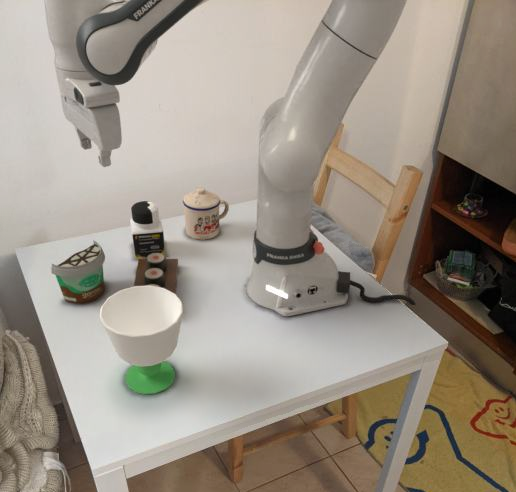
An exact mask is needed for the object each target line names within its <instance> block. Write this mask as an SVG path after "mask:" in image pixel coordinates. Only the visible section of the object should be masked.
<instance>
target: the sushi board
mask: <svg viewBox="0 0 516 492" xmlns="http://www.w3.org/2000/svg"><path fill="white" fill-rule="evenodd" d="M178 273H179V259H178V258H167V256H166V254H165V255H164V254H161V253H152V254H149V255H148V256H147V257H146V258H142V259H137V266H136V271H135V277H134V282H133V287H134V286H155V287H160V288H165V289H167V290H168V291H170V292H172V293H174V294H176V295H177V283H178V282H177V281H178Z"/></svg>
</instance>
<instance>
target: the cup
mask: <svg viewBox="0 0 516 492" xmlns="http://www.w3.org/2000/svg"><path fill="white" fill-rule="evenodd" d="M183 306H184V305H183V302H182V300H181V299H180V298H179V297H178V295H177V293H176V294H174V293H172V292H170V291H168V290H167V289H165V288H160V287H155V286H134V285H133V286H131V287H127V288H124V289H121V290H118V291H117V292H115V293H114V294H111V295H110V296H108V297H107V298H106V300H105V301H104V302H103V304H102V305H101V307H100V309H99V310H100V311H99V319H100V321H101V323H102V325H103V328H104V330H105V332H106V334H107V336H108V339H109V341H110V343H111V345H112V347H113V348H114V351H115V352H116V354H117V355H118V357H119V358H120V359H121V360H123V361H124V362H126V363H127V364H129V365H131V366H130V367H129V368H128V370H127V372H126V374H125V383H126V385H127V386H128V388H129V389H130V390H131V391H133V392H135V393H137V394H141V395H155V394H158V393H160V392H163V391H165V390H167V389H168V388H170V387H171V386H172V384H173V383H174V381H175V379H176V372H175V369H174V367H173V366H172V365H171V364H170V363H169V362H167V361H166V360H167V359H168V358H170V357H171V356H172V355H173V353H174V351H175V350H176V348H177V346H178V342H179V335H180V332H181V331H180V330H181V326H182V320H183V314H184V308H183Z"/></svg>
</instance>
